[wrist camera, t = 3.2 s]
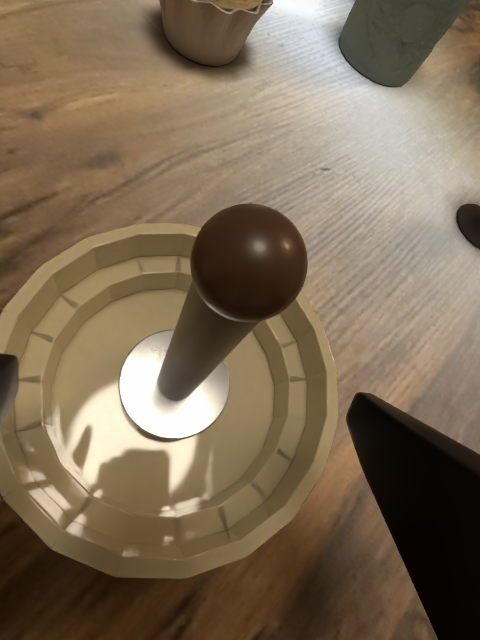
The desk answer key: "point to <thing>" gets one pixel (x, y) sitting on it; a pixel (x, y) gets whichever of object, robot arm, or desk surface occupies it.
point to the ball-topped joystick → (213, 321)
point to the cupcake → (210, 27)
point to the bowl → (139, 449)
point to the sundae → (470, 222)
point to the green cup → (395, 35)
